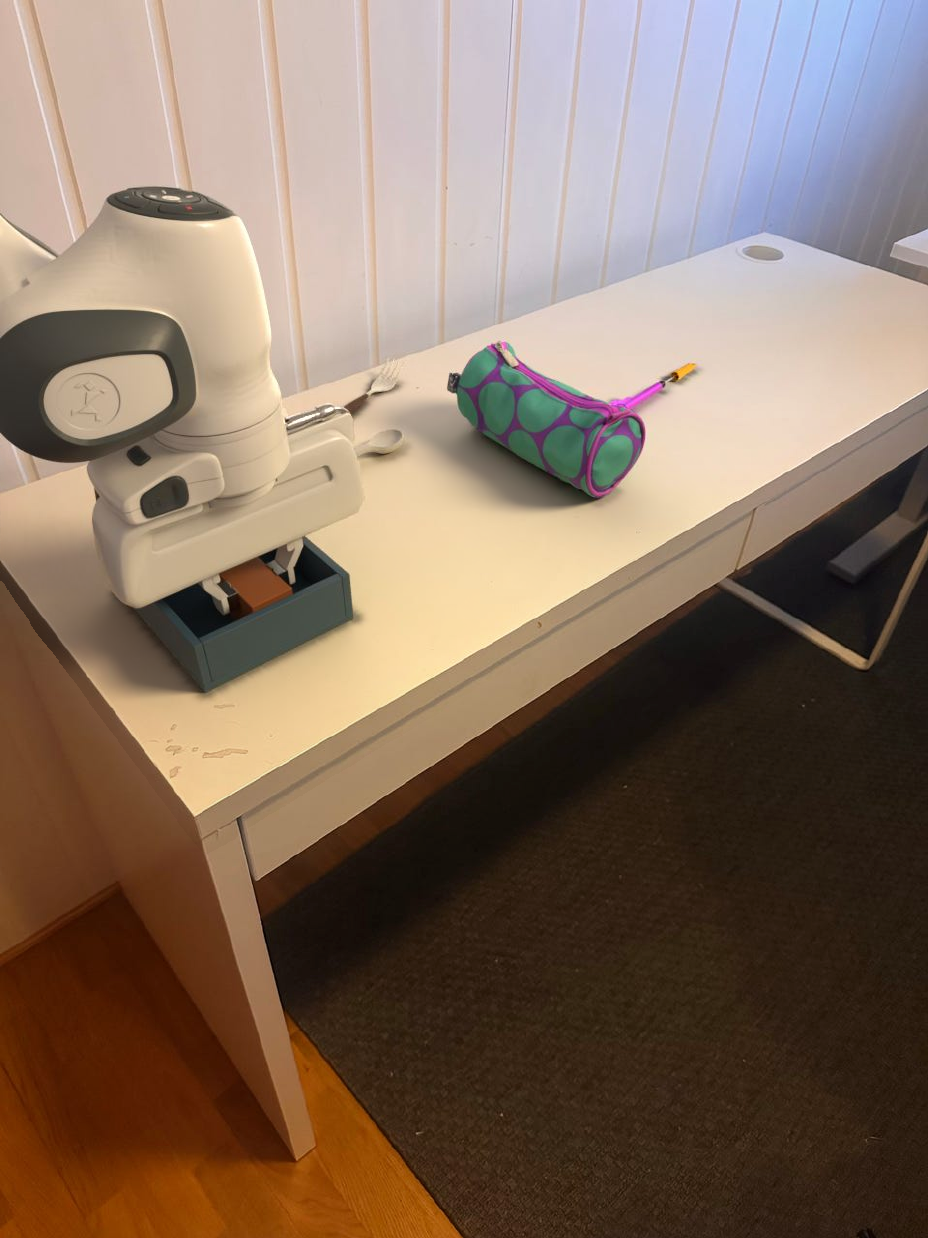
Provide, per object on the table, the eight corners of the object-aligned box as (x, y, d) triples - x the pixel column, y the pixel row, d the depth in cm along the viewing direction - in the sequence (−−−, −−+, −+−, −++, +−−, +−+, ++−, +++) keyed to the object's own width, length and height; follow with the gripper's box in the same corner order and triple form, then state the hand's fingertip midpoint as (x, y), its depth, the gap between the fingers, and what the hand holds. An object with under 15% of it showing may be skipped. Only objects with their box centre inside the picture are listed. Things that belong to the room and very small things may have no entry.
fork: (311, 431, 96) (310, 414, 95) (388, 372, 107) (387, 356, 105) (332, 437, 95) (330, 420, 94) (407, 377, 106) (406, 361, 105)
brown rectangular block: (298, 626, 71) (292, 588, 69) (260, 646, 70) (251, 607, 67) (247, 577, 76) (239, 540, 73) (210, 595, 74) (201, 557, 72)
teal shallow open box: (353, 618, 73) (349, 573, 70) (205, 693, 67) (193, 647, 64) (258, 532, 82) (250, 489, 79) (119, 591, 76) (105, 546, 72)
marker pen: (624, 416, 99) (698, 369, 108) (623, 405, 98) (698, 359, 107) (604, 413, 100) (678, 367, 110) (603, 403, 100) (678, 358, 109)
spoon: (411, 446, 94) (409, 430, 92) (321, 497, 88) (318, 480, 86) (392, 436, 95) (390, 419, 94) (303, 485, 89) (299, 468, 88)
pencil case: (446, 430, 97) (445, 345, 90) (507, 405, 101) (511, 323, 94) (582, 516, 85) (593, 426, 78) (645, 485, 89) (660, 396, 82)
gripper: (326, 380, 68) (344, 528, 77) (61, 472, 59) (117, 628, 68) (373, 411, 64) (386, 563, 74) (98, 515, 55) (152, 674, 64)
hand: (255, 595), depth 71 cm, fingers closed on brown rectangular block, 3 cm apart
